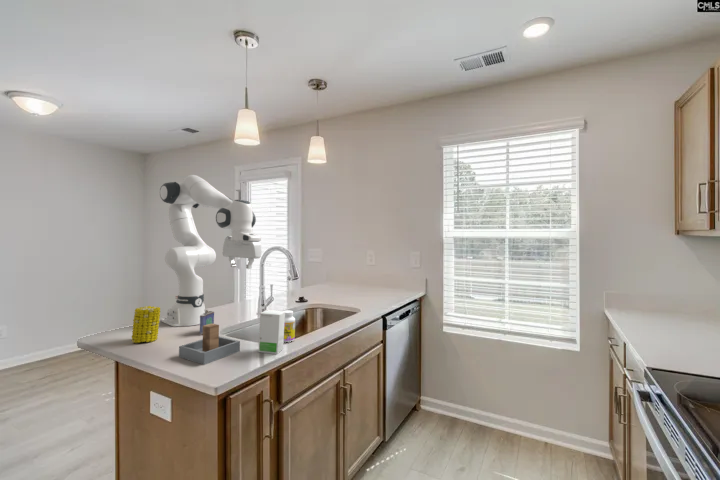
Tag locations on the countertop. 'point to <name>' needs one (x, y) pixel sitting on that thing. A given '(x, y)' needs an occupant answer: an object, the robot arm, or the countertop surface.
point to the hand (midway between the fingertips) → (241, 267)
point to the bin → (197, 355)
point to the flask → (206, 319)
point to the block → (210, 337)
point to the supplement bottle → (289, 326)
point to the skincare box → (271, 331)
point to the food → (145, 324)
